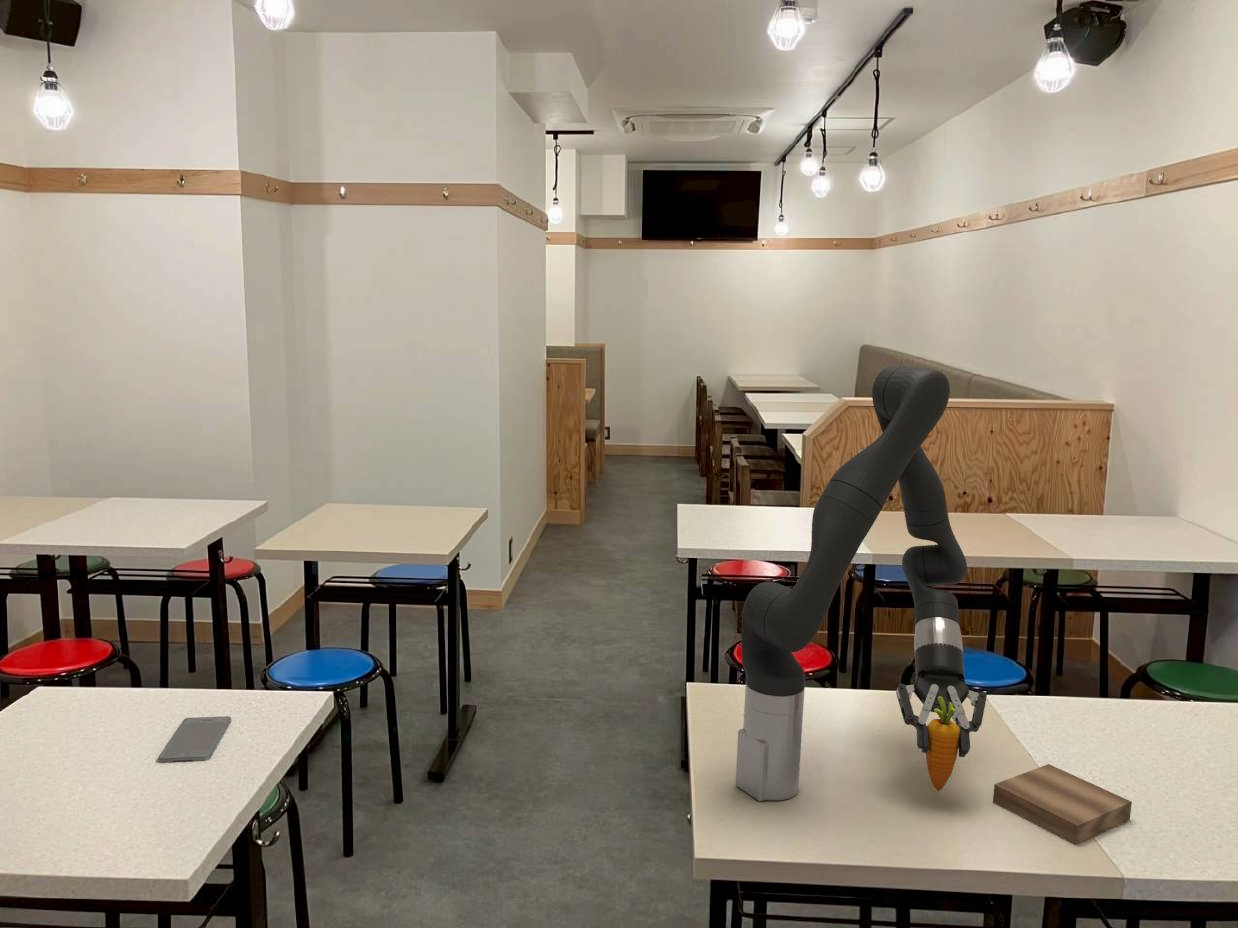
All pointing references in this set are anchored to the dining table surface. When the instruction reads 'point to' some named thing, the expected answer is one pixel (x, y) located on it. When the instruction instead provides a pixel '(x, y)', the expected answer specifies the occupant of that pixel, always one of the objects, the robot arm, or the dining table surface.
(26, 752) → the dining table surface
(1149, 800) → the dining table surface
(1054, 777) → the walnut plinth
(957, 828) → the dining table surface
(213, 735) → the phone
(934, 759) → the carrot
